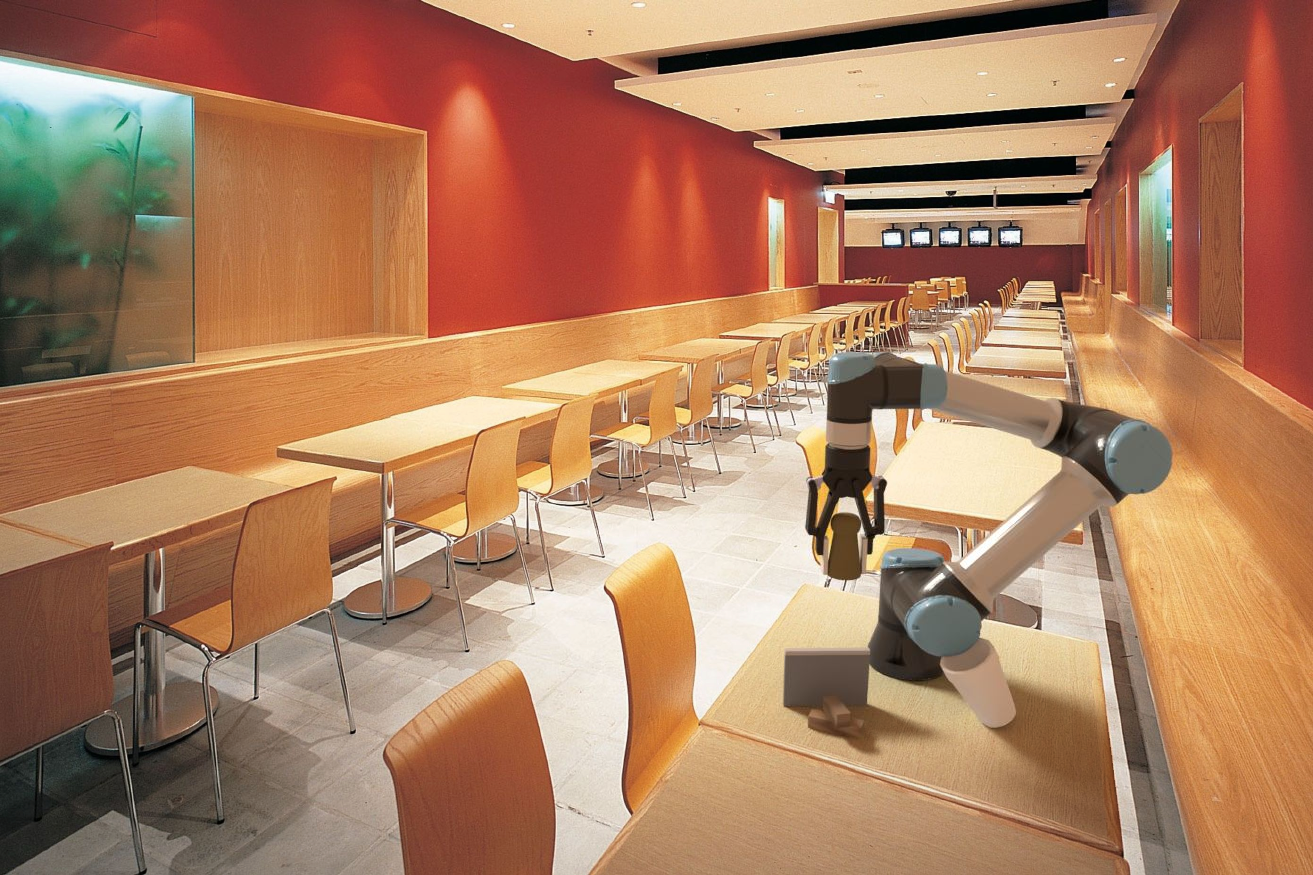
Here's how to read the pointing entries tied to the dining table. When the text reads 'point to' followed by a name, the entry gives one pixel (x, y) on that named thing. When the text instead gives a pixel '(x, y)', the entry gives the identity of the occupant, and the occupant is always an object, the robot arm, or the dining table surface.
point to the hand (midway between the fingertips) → (843, 571)
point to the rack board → (826, 675)
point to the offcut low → (823, 723)
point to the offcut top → (836, 711)
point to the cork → (844, 547)
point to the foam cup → (981, 683)
